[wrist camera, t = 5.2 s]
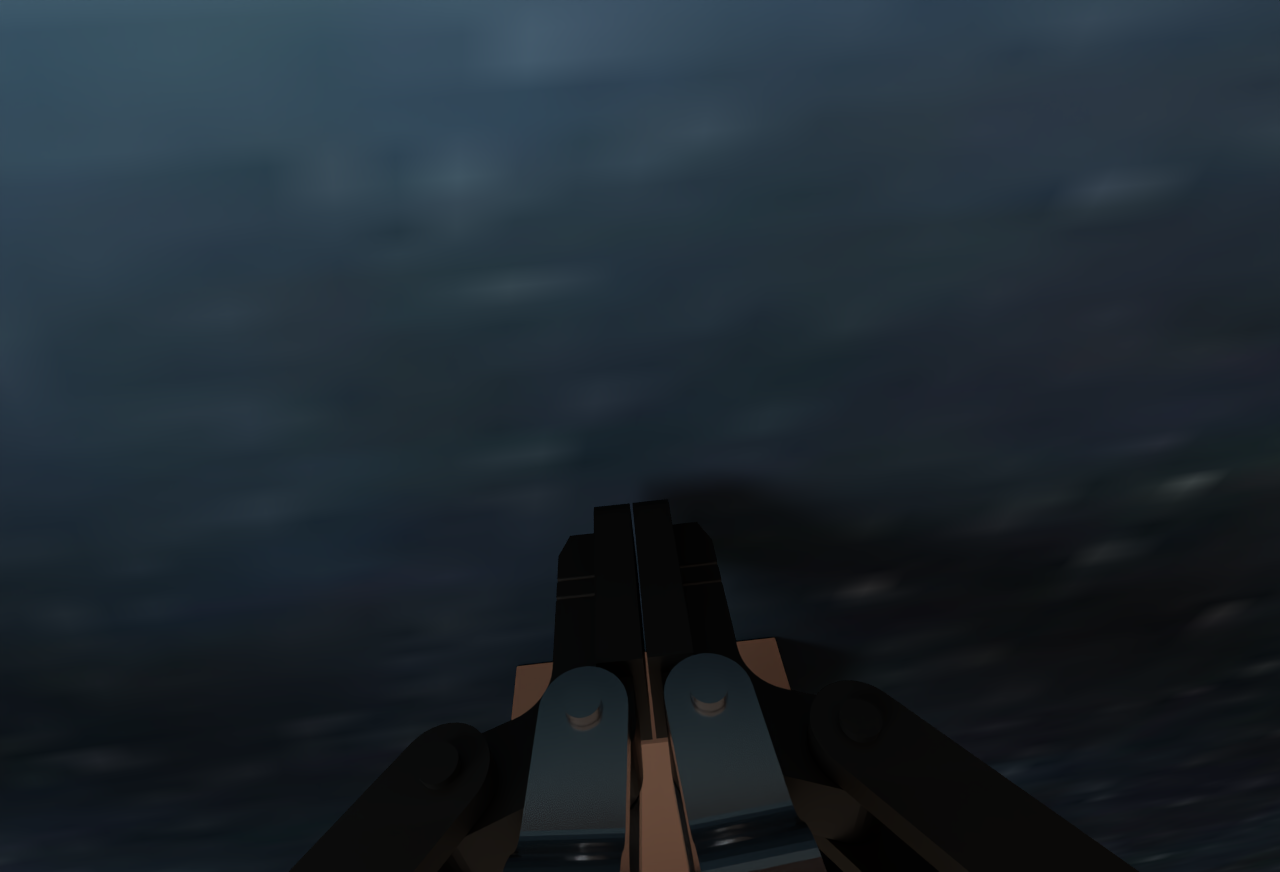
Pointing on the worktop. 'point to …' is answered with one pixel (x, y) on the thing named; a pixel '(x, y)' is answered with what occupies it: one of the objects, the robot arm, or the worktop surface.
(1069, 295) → the worktop surface
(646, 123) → the worktop surface
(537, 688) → the tan cardboard carton
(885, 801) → the robot arm
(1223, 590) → the worktop surface
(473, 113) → the worktop surface
